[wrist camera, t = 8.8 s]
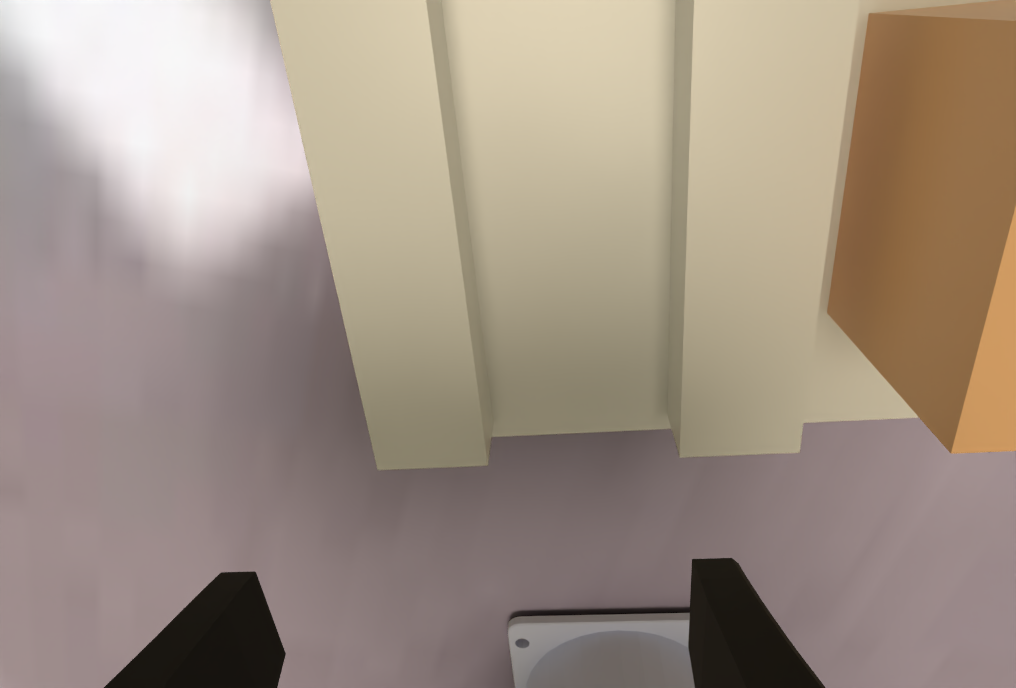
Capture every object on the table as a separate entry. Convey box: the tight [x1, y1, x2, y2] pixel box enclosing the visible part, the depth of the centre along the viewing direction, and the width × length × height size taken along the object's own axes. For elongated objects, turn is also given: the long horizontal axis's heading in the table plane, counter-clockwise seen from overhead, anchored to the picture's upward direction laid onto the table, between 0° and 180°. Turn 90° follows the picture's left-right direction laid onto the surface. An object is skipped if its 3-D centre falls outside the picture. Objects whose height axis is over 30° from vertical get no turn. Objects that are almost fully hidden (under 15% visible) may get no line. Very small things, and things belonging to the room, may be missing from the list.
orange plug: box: [827, 0, 1016, 453], centre depth 13 cm, size 7×3×6 cm, turn 5°
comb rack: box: [270, 0, 998, 470], centre depth 15 cm, size 13×27×3 cm, turn 95°
